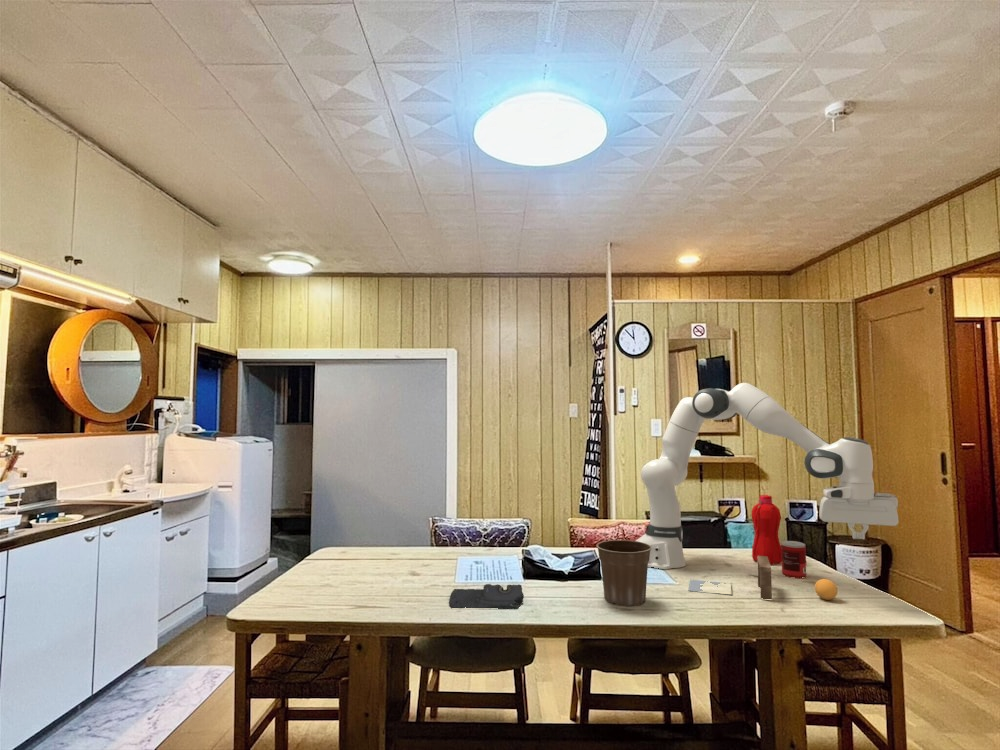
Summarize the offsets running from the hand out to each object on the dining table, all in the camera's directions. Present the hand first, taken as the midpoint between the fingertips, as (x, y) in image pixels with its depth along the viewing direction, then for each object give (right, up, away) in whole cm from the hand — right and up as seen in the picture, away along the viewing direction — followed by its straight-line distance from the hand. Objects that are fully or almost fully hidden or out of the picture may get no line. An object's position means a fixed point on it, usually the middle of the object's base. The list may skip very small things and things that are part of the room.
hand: (858, 538), depth 175 cm
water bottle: (-7, -22, +46) cm, 52 cm away
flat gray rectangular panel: (-39, -20, +14) cm, 46 cm away
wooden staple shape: (-24, -19, +8) cm, 32 cm away
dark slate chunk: (-111, -19, -1) cm, 113 cm away
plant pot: (-70, -19, 0) cm, 72 cm away
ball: (-8, -16, +2) cm, 18 cm away
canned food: (-5, -21, +28) cm, 36 cm away
